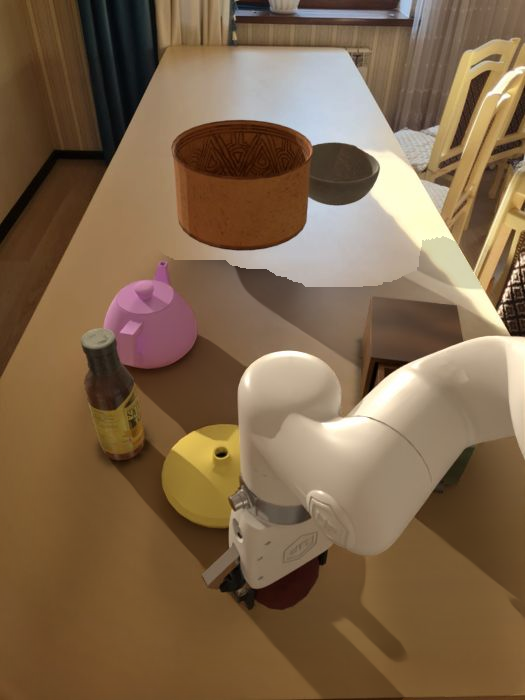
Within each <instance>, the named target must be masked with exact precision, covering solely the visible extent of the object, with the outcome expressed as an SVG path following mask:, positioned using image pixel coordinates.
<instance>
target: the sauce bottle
mask: <svg viewBox="0 0 525 700" xmlns="http://www.w3.org/2000/svg"><path fill="white" fill-rule="evenodd" d="M80 345H81V349H82V352H83V353H84V354H85V357H86V361H87V369H88V370H87V372H86V374H85V377H84V380H83V385H84V390H85V393H86V400H87V404H88V407H89V411H90V414H91V418H92V421H93V424H94V425H93V426H94V428H95V432H96V435H97V438H98V441H99V444H100V445H99V446H100V447H101V449H102V451H103V453H104V454H105V455H106V456H107V457H108V458H109V459H111V460H114V461H126V460H130V459H133V458H134V457H136V456H137V455H138V454H139V453H140V452H141V451H142V450H143V447H144V446H145V441H146V438H145V436H146V435H145V433H146V432H145V428H144V422H143V417H142V412H141V408H140V402H139V397H138V392H137V388H136V383H135V378H134V377H133V375H132V374H131V372H129V370H128V369H127V368H126V366H125V365H124V364H122V362H121V361H120V358H119V356H118V352H117V340H116V337H115V334H114V333H113V332H112V331H111V330H108V329H105V328H104V327H98V328H94V329H90V330H88V331H87V332H85V333H84V334H83V335H82V337H81V339H80Z"/></svg>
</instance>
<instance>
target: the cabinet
mask: <svg viewBox="0 0 525 700" xmlns="http://www.w3.org/2000/svg"><path fill="white" fill-rule="evenodd" d="M463 336H464V335H463V331H462V325H461V320H460V313H459V309H458V305H457V304H450V303H441V302H433V301H432V302H431V301H422V300H413V299H403V298H394V297H385V296H374V295H371V296H370V300H369V305H368V310H367V315H366V320H365V324H364V331H363V336H362V341H361V373H360V375H361V376H360V401H361V400H362V399H363V398H364V397H365V396H367V395H368V394H369V393H370V392H371V391H372V389H373V385H374V380H375V376H376V372H377V367H378V363H386V364H394V365H403V366H404V365H406V364H408V363H411V362H413V361H415V360H418V359H420V358H423V357H425V356H428V355H430V354H433V353H435V352H438V351H440V350H443V349H446V348H448V347H450V346H453V345H456V344H459V343H462V342H465V341H464V337H463Z"/></svg>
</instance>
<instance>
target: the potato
mask: <svg viewBox="0 0 525 700" xmlns="http://www.w3.org/2000/svg"><path fill="white" fill-rule="evenodd" d="M320 567H321V565H320V564H319V560H318V557H317V556H316V557H315V558H313V559H312V560H310V561H308V562H307V563H305V564H304V565H302V566H300V567H299V568H297V569H295V570H294V571H292V572H290V573H289V574H287V575H285V576H284V577H282V578H280V579H279V580H277V581H275V582H273V583H272V584H270V585H268V586H266V587H263V588H259V589H254V588H253V589H254V592H255V602H257V603H258V604H259V605H262V606H263V607H266V608H267V609H269V610H274V611H275V610H276V611H285V610H287V609H291V608H293V607H294V606H296V605H297V604H299V603H300V602H301V601H302V600H304V599H305V598H306V597H307V596H308V595H309V594H310V592H311V590H312V589H313V588H314V586H315V584H317V581H318V579H319V576H320V574H319V573H320Z"/></svg>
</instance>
